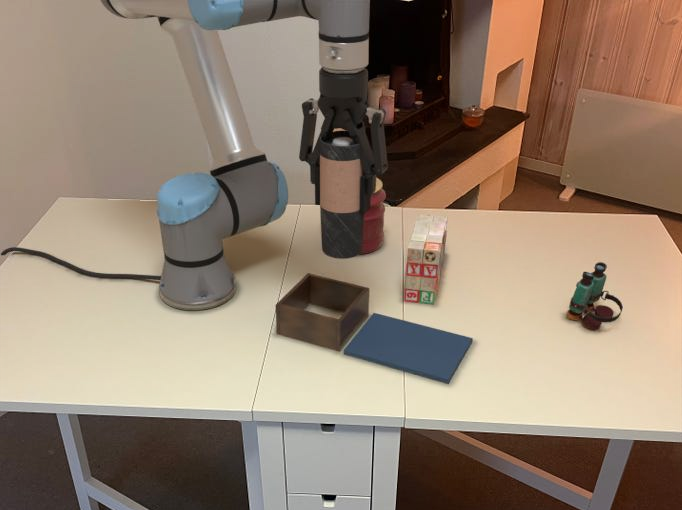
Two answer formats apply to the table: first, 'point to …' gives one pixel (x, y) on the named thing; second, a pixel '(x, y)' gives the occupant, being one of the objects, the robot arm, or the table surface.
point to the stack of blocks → (425, 259)
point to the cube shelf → (318, 326)
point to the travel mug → (340, 196)
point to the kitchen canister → (374, 221)
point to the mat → (409, 347)
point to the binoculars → (592, 299)
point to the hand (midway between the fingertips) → (342, 206)
